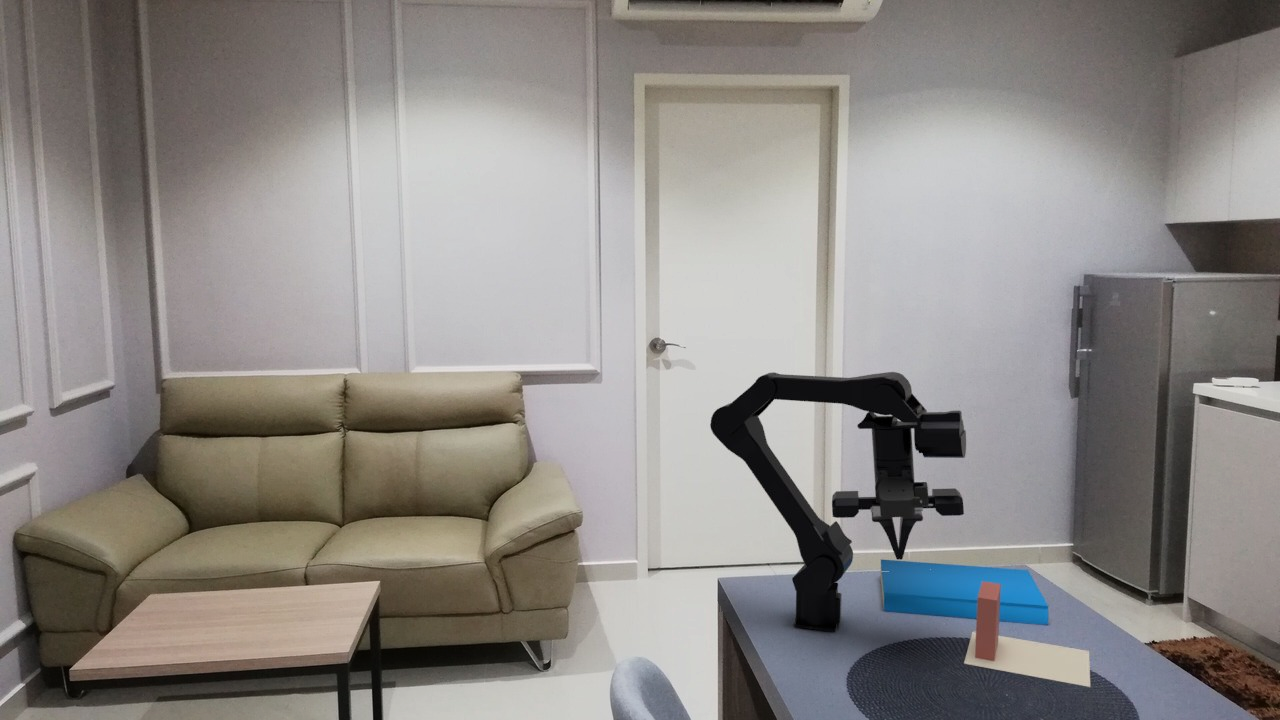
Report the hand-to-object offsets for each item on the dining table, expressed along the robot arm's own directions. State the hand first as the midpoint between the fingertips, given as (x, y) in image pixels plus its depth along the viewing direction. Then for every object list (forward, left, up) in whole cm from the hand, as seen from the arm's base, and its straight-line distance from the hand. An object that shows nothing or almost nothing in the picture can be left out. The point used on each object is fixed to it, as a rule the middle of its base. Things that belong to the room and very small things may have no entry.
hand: (899, 558), depth 135 cm
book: (+10, +18, -13) cm, 24 cm away
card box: (+13, -2, -12) cm, 18 cm away
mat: (+18, -3, -12) cm, 22 cm away
